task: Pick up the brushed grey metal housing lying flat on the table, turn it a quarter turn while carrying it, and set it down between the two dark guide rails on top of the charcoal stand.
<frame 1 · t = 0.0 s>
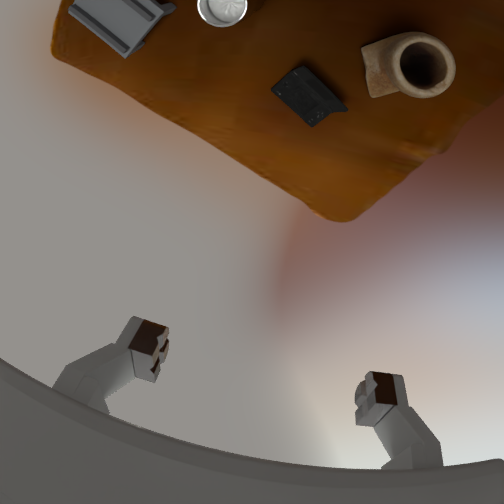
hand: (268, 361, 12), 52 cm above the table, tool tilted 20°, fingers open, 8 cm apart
stand: (128, 4, 42), on the table
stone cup: (396, 54, 42), on the table
dark grey angled bracket: (309, 92, 53), on the table
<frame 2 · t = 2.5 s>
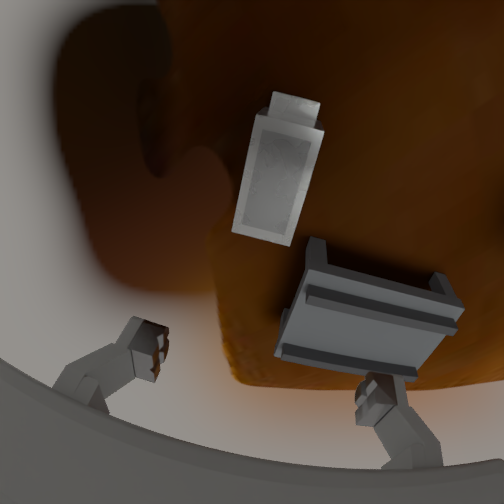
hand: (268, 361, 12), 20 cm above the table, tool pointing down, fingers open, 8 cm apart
stand: (363, 297, 35), on the table
housing: (279, 165, 28), on the table
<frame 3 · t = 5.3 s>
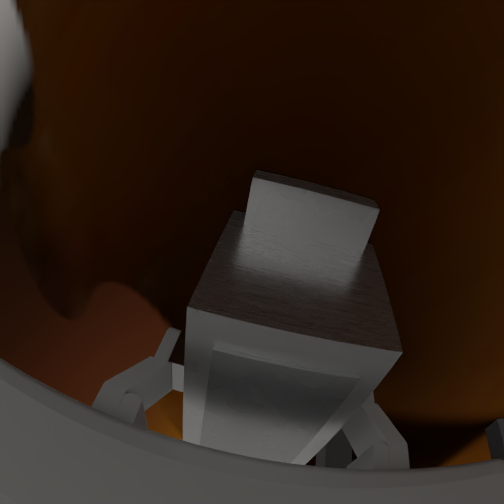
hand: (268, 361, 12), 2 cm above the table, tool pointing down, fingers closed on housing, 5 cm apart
stand: (395, 454, 20), on the table
housing: (273, 328, 14), on the table, touching gripper
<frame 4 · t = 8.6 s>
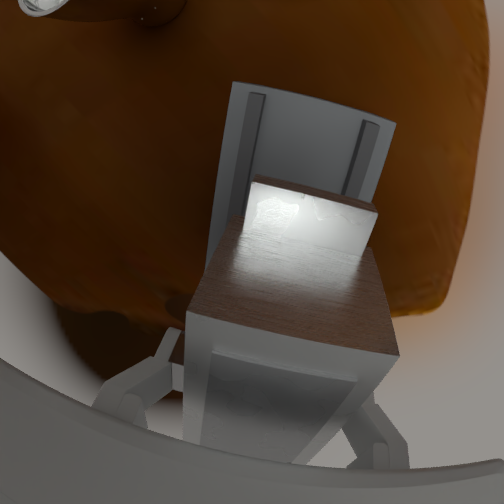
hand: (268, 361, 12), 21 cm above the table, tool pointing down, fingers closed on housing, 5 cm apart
stand: (293, 180, 30), on the table
housing: (272, 330, 14), point 19 cm above the table, touching gripper
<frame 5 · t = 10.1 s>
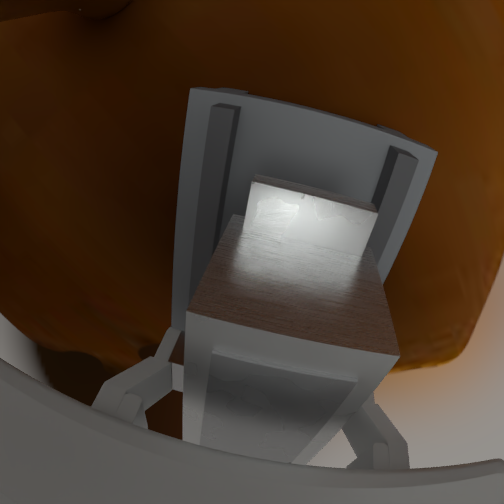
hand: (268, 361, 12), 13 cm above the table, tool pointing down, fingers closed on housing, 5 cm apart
stand: (285, 220, 23), on the table
housing: (272, 330, 14), point 11 cm above the table, touching gripper
when the fingers open (9 cm above the table, at t = 11.6 s): housing drops 1 cm, resting on stand.
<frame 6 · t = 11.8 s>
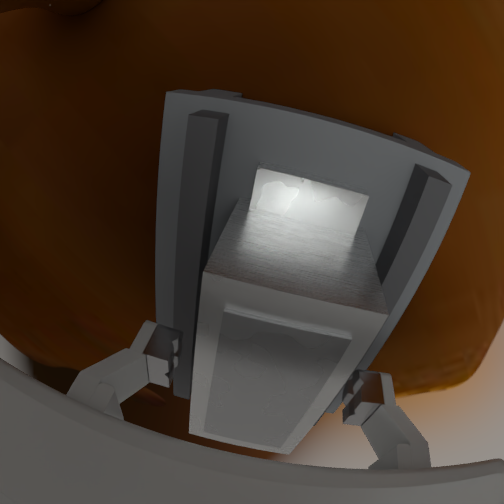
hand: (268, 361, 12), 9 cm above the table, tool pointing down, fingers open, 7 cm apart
stand: (286, 242, 20), on the table
housing: (274, 307, 15), point 6 cm above the table, touching stand
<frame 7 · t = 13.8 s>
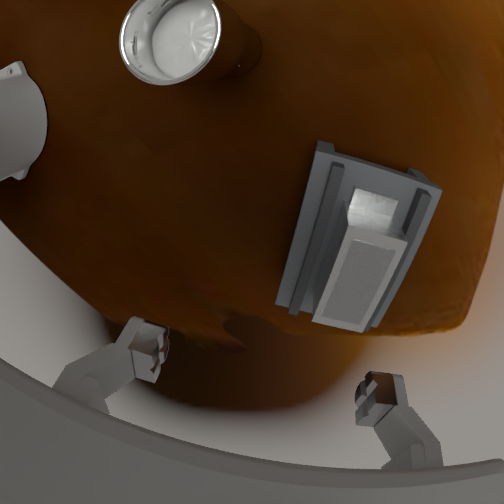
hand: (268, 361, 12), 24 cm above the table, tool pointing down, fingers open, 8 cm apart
stand: (349, 224, 34), on the table
housing: (353, 253, 29), point 6 cm above the table, touching stand
beer glass: (232, 49, 27), on the table
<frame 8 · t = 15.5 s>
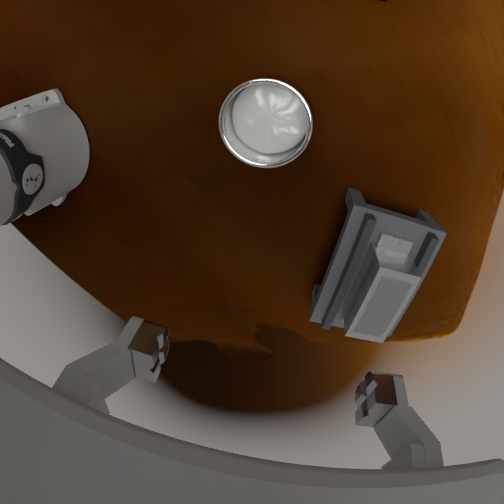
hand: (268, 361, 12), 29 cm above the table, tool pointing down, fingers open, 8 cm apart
stand: (369, 254, 41), on the table
housing: (375, 281, 36), point 6 cm above the table, touching stand
beer glass: (280, 104, 33), on the table
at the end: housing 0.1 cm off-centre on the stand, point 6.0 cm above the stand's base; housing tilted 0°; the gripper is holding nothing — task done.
